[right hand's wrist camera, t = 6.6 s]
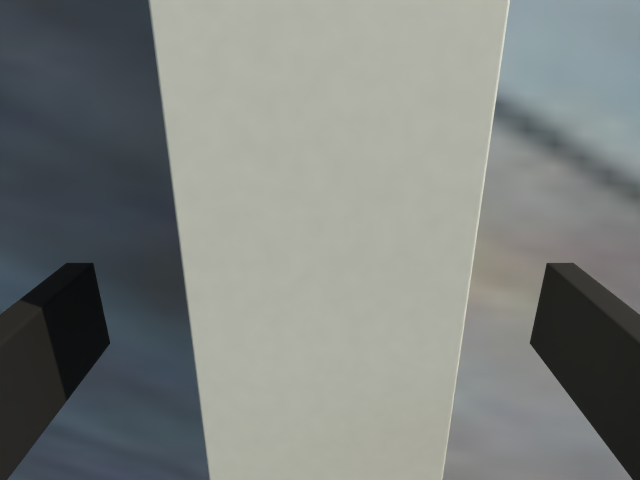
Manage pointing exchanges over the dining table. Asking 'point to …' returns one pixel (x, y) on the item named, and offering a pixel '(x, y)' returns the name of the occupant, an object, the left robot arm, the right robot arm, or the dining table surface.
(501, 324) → the dining table surface
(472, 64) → the plank
